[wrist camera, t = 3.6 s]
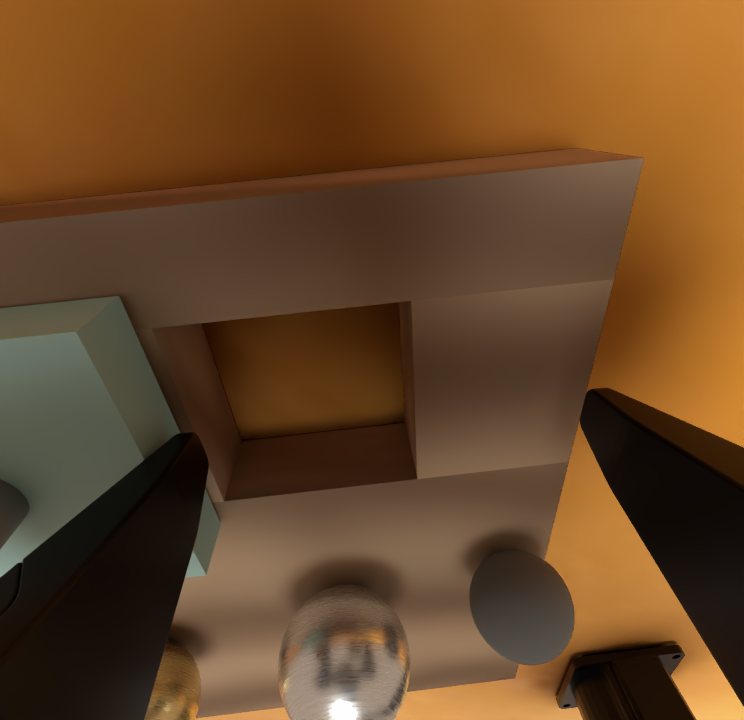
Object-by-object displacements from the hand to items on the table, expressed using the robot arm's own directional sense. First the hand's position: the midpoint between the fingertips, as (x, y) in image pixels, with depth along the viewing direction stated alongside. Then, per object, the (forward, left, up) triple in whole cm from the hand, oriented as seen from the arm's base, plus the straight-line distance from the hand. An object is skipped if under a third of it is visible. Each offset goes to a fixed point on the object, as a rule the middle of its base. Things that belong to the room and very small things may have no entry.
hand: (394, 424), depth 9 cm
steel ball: (-8, +2, +1) cm, 8 cm away
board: (-6, +3, -3) cm, 8 cm away
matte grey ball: (-7, -3, +1) cm, 8 cm away
